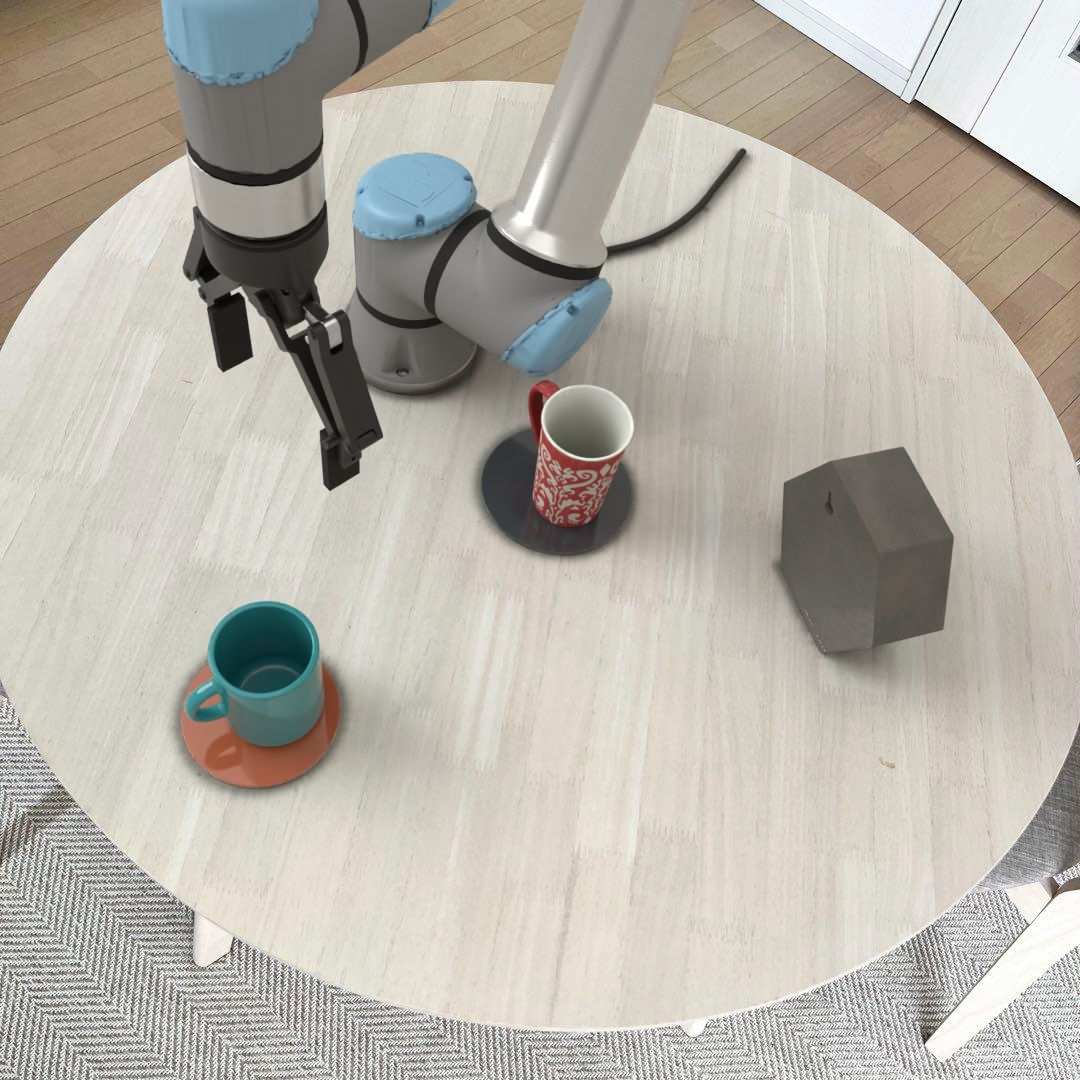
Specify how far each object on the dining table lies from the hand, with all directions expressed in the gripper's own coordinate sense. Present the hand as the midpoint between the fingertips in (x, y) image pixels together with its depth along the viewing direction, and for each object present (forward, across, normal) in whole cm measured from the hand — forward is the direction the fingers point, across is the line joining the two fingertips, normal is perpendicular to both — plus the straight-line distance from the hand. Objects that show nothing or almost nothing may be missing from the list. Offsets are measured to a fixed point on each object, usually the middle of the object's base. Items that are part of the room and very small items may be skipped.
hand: (287, 419), depth 85 cm
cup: (+28, -7, +10) cm, 31 cm away
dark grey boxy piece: (+29, -32, -42) cm, 60 cm away
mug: (+28, -5, -28) cm, 40 cm away
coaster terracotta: (+29, -7, +10) cm, 31 cm away
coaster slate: (+29, -5, -28) cm, 40 cm away
